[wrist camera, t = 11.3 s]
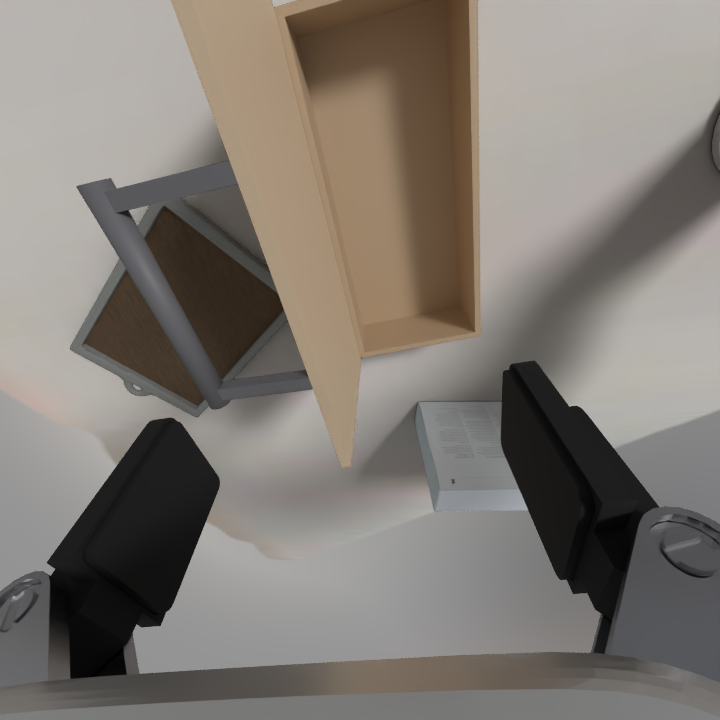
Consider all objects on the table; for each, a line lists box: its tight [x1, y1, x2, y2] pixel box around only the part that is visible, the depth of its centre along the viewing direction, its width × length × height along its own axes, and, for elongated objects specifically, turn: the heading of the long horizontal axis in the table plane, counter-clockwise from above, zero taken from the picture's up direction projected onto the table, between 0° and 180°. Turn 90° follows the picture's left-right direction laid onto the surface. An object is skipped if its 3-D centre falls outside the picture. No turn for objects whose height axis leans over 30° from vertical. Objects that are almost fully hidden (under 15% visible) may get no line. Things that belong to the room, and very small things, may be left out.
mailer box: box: [274, 0, 481, 358], centre depth 34 cm, size 14×30×8 cm, turn 12°
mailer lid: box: [76, 0, 361, 467], centre depth 26 cm, size 15×31×9 cm
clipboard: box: [70, 198, 288, 417], centre depth 46 cm, size 19×2×30 cm
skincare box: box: [415, 402, 528, 512], centre depth 50 cm, size 21×5×16 cm, turn 89°
